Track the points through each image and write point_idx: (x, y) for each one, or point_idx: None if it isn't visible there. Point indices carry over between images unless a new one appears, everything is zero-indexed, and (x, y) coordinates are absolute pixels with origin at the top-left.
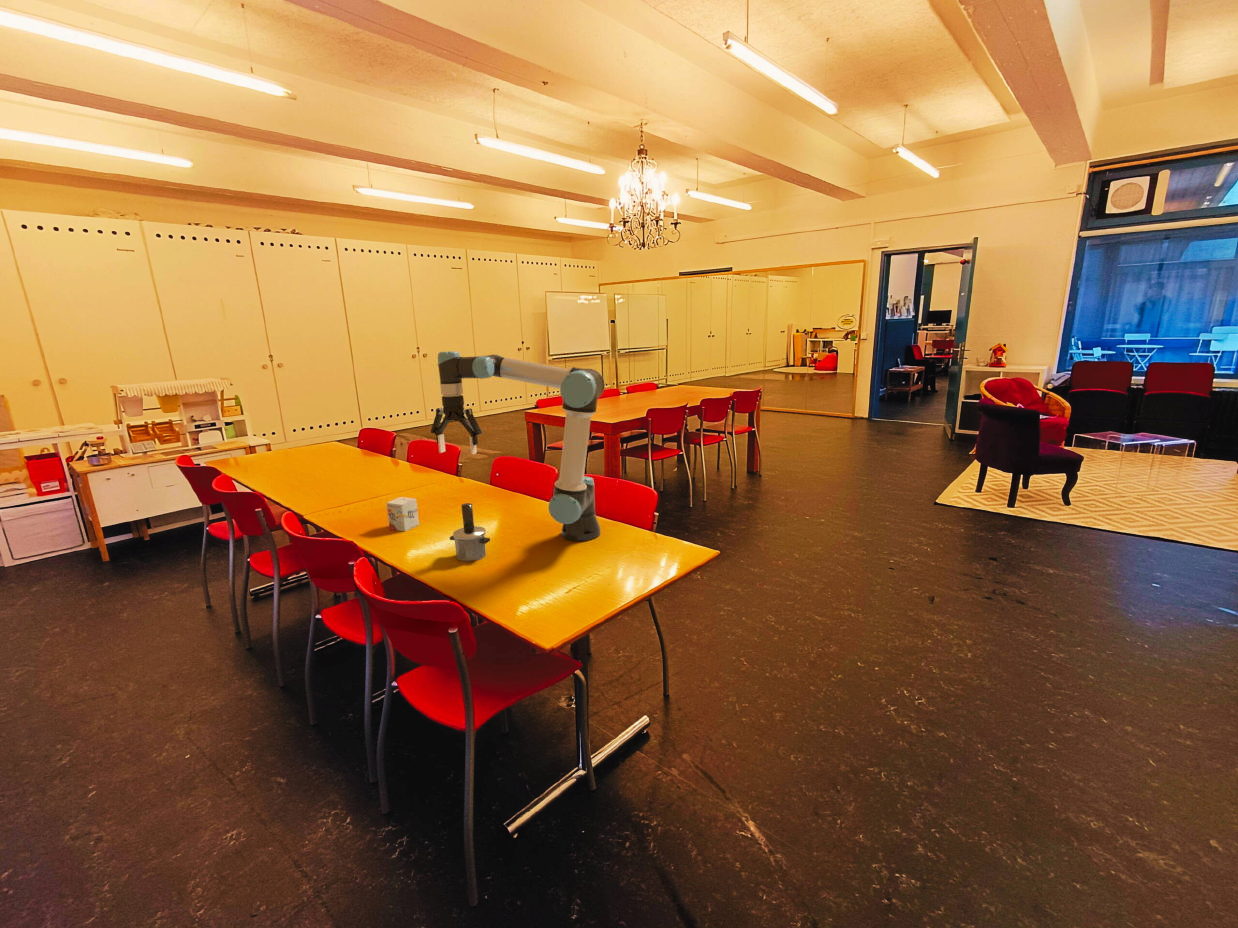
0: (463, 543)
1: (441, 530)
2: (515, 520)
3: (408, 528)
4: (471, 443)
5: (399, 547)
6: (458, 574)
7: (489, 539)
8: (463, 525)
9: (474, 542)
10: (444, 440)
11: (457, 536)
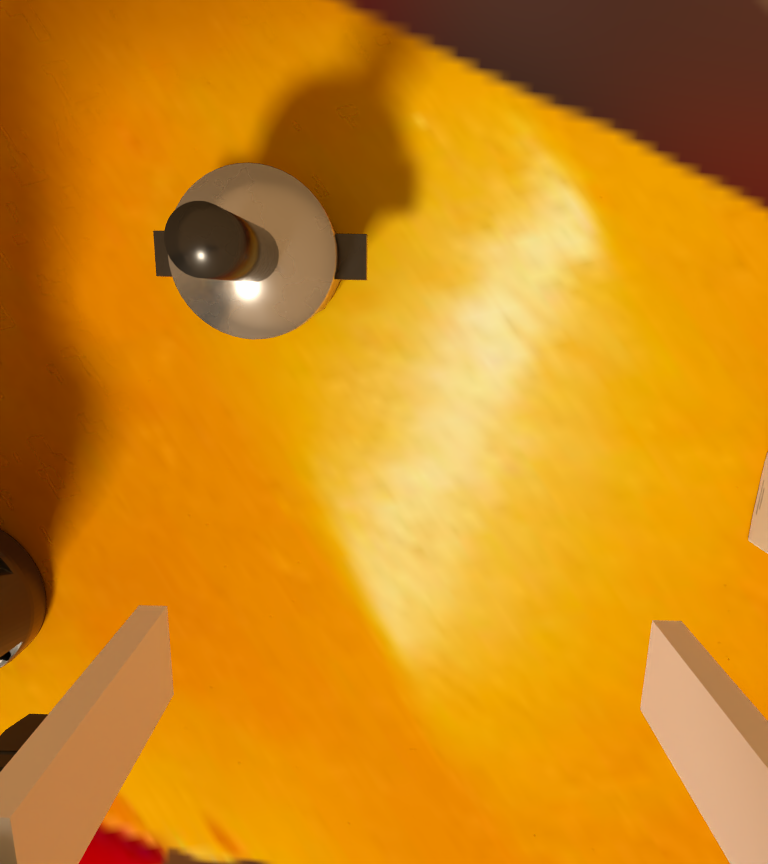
0: None
1: (595, 499)
2: (325, 677)
3: (766, 473)
4: (58, 710)
5: (674, 266)
6: (214, 58)
7: (159, 271)
8: (260, 228)
9: None
10: (721, 848)
11: (269, 169)
